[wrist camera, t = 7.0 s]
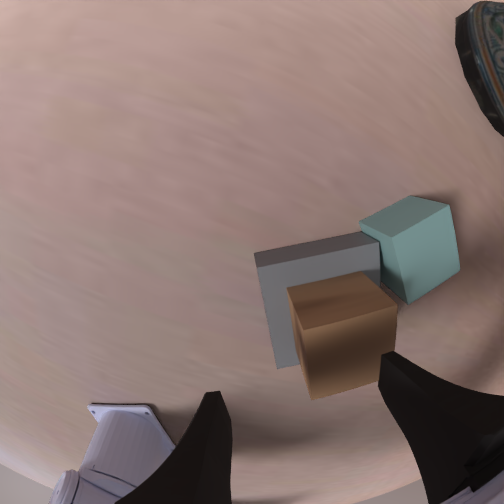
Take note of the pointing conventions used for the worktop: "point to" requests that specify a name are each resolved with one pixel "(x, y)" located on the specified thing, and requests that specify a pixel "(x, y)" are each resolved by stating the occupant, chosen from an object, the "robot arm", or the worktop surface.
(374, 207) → the worktop surface
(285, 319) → the base block
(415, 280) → the teal cube
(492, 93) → the beer stein
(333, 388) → the walnut cube
